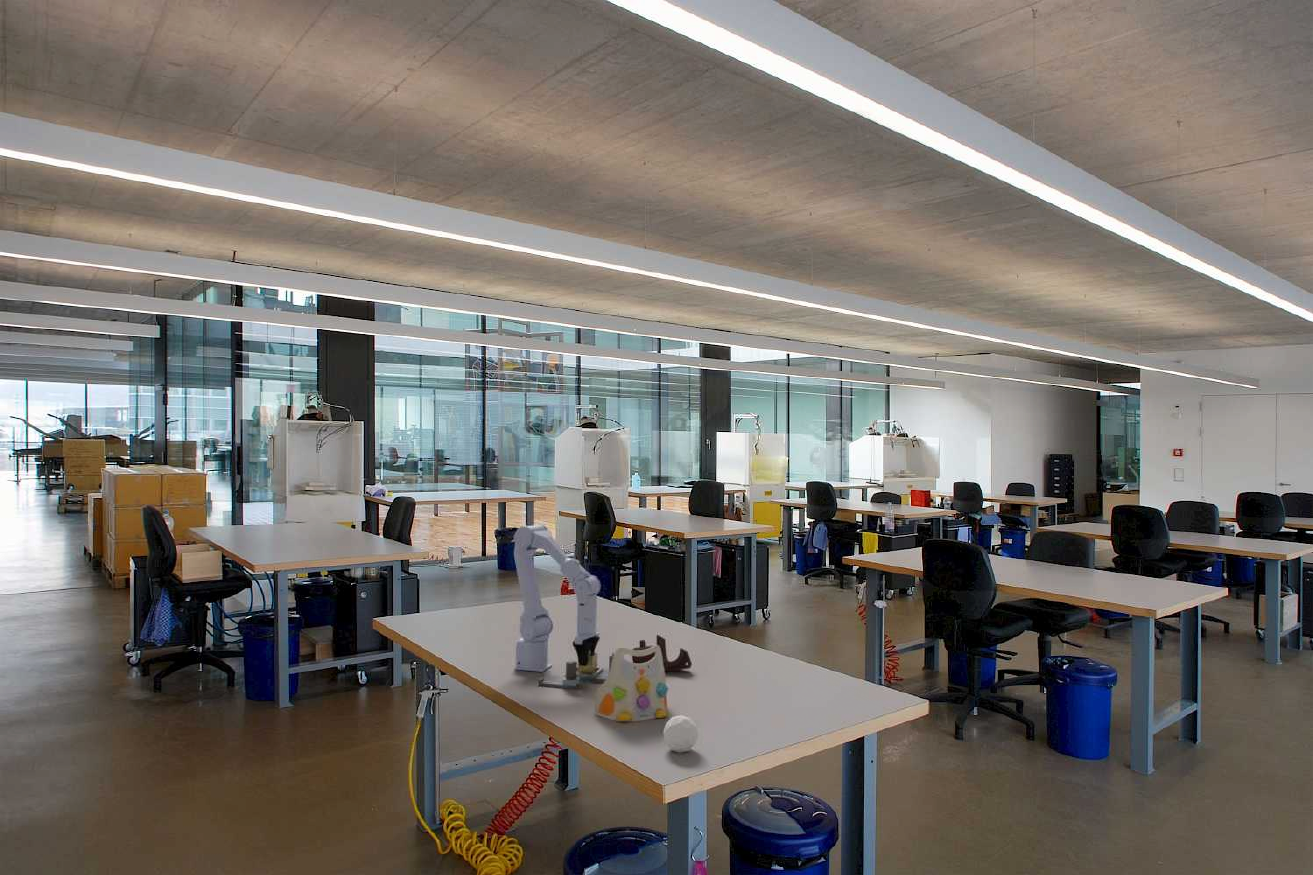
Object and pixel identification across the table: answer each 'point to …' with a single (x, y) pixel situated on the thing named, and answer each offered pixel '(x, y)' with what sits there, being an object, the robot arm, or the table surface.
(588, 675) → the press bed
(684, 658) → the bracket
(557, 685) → the rail
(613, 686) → the shape sorter
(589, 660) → the housing
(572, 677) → the lever
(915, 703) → the table surface
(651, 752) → the table surface
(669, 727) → the ball
